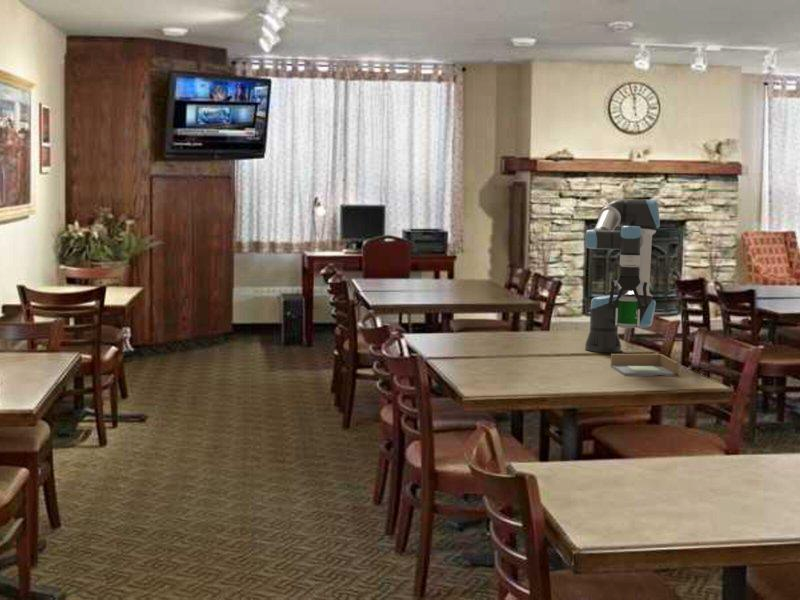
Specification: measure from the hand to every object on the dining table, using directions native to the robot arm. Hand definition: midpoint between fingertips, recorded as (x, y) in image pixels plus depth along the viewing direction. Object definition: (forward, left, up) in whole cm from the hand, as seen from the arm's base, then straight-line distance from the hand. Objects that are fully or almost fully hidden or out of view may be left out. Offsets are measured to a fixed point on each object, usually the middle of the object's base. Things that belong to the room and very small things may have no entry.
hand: (627, 325), depth 408 cm
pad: (+10, +4, -16) cm, 19 cm away
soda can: (0, 0, -1) cm, 1 cm away
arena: (+10, +4, -16) cm, 19 cm away
